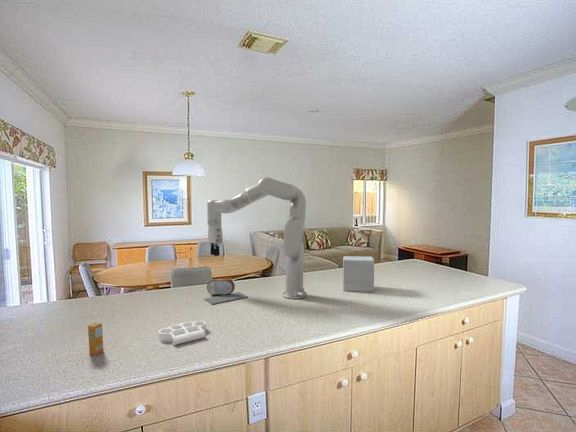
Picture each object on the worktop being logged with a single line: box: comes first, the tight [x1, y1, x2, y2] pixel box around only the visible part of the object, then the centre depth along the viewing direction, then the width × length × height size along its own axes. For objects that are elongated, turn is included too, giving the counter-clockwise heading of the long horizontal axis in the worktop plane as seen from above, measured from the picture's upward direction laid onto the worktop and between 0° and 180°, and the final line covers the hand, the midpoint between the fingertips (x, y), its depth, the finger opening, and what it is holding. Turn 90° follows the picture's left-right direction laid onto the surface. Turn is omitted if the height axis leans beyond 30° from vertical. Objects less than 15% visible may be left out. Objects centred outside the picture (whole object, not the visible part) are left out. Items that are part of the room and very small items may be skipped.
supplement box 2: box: [342, 255, 375, 293], centre depth 189 cm, size 17×13×18 cm
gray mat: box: [204, 291, 249, 306], centre depth 171 cm, size 10×20×1 cm, turn 126°
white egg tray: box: [158, 320, 207, 346], centre depth 125 cm, size 3×18×15 cm
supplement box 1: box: [87, 322, 104, 356], centre depth 111 cm, size 3×3×10 cm
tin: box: [206, 278, 236, 296], centre depth 177 cm, size 15×3×8 cm, turn 84°
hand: (215, 254), depth 181 cm, fingers open, 3 cm apart
